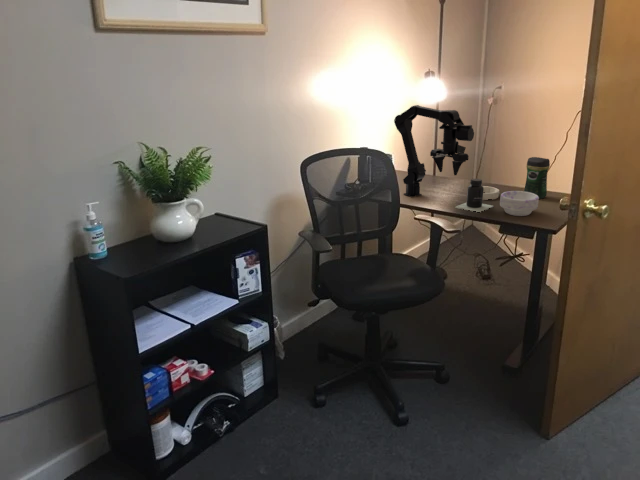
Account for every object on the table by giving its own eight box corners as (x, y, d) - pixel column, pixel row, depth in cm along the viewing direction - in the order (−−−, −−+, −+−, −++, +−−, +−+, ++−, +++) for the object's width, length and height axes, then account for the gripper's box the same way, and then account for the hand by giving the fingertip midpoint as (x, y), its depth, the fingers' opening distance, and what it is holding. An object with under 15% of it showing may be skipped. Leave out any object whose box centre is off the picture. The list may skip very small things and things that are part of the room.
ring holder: (461, 195, 252) (462, 189, 251) (481, 190, 259) (482, 184, 258) (484, 201, 241) (484, 195, 240) (504, 196, 248) (505, 190, 247)
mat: (455, 207, 233) (455, 206, 233) (469, 202, 240) (469, 201, 240) (479, 212, 225) (479, 211, 224) (493, 206, 232) (493, 205, 232)
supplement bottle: (476, 209, 228) (478, 182, 224) (463, 206, 233) (464, 179, 229) (485, 205, 232) (487, 179, 228) (471, 203, 237) (473, 177, 233)
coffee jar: (548, 197, 244) (553, 157, 238) (539, 200, 240) (543, 160, 233) (530, 193, 251) (534, 155, 245) (520, 196, 247) (524, 157, 241)
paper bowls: (534, 220, 213) (536, 201, 210) (495, 215, 220) (497, 197, 217) (539, 210, 225) (541, 192, 223) (503, 206, 233) (504, 189, 230)
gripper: (478, 139, 230) (476, 174, 236) (447, 135, 245) (446, 168, 251) (460, 142, 225) (458, 178, 230) (430, 137, 240) (428, 171, 245)
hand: (448, 173), depth 239 cm, fingers open, 9 cm apart
